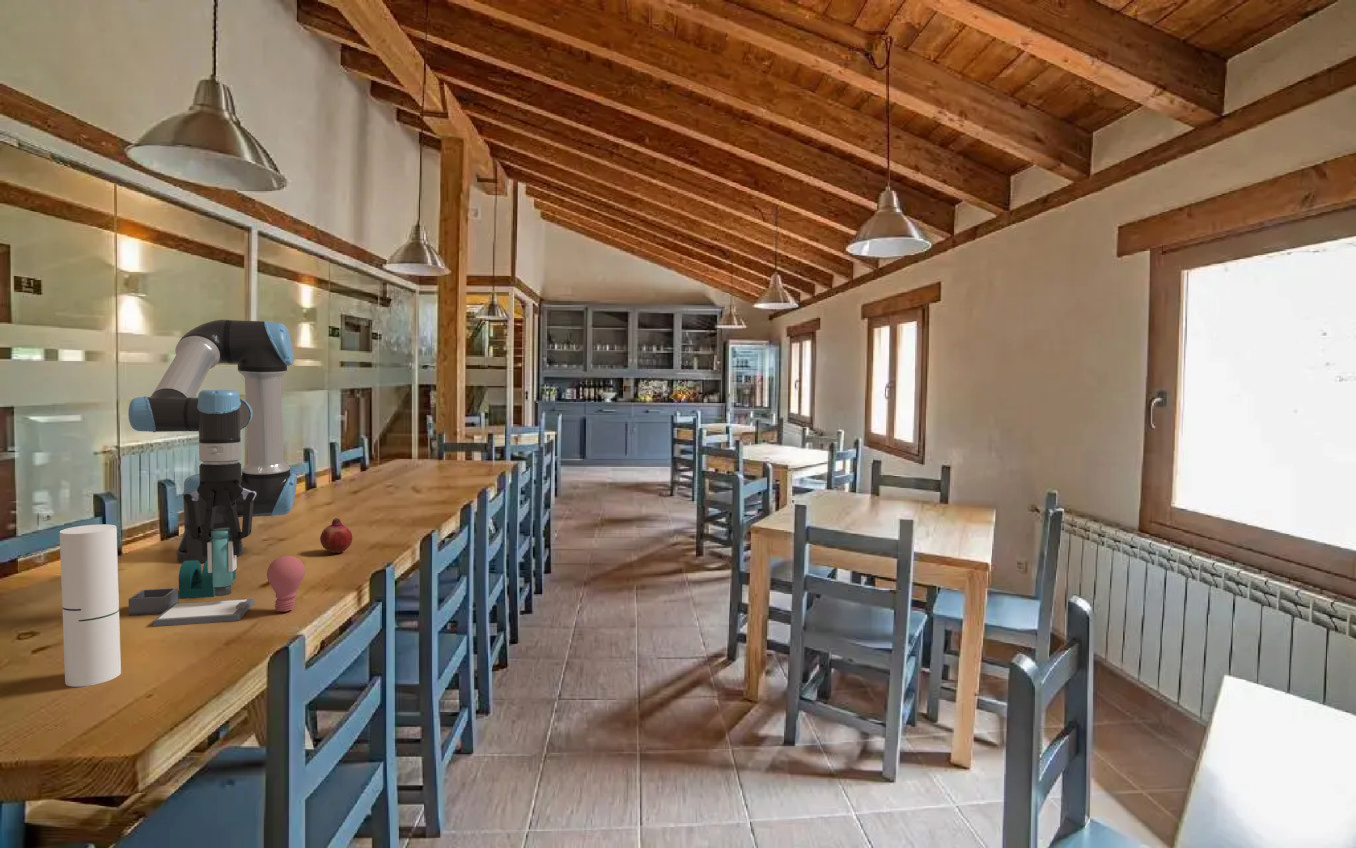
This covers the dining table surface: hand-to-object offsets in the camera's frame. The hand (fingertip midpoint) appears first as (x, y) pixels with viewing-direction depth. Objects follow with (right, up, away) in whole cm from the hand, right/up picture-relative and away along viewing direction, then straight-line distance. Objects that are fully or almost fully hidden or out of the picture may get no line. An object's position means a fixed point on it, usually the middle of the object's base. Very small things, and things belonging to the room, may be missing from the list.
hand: (222, 570), depth 151 cm
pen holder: (-14, -8, -1) cm, 16 cm away
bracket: (-13, -7, +16) cm, 22 cm away
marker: (0, -5, 0) cm, 5 cm away
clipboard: (-1, -9, -4) cm, 9 cm away
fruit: (+1, -5, +48) cm, 48 cm away
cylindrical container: (+1, -11, -34) cm, 36 cm away
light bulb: (+14, -9, 0) cm, 17 cm away
